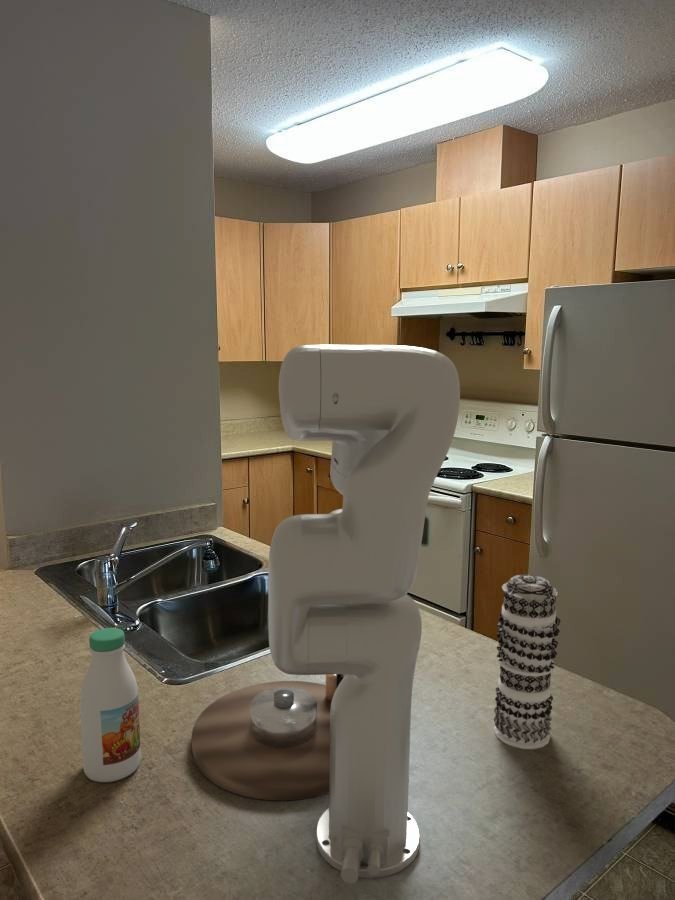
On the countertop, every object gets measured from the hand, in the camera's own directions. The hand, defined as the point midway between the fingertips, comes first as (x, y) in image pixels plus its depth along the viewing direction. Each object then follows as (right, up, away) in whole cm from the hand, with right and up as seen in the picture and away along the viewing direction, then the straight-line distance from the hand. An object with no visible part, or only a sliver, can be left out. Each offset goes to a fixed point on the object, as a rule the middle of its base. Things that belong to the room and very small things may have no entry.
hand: (347, 698), depth 107 cm
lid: (-10, -2, -6) cm, 12 cm away
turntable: (-9, -4, -5) cm, 12 cm away
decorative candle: (+27, -5, -3) cm, 28 cm away
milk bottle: (-33, -5, -12) cm, 36 cm away
